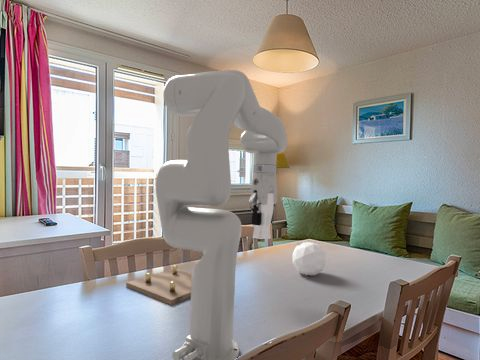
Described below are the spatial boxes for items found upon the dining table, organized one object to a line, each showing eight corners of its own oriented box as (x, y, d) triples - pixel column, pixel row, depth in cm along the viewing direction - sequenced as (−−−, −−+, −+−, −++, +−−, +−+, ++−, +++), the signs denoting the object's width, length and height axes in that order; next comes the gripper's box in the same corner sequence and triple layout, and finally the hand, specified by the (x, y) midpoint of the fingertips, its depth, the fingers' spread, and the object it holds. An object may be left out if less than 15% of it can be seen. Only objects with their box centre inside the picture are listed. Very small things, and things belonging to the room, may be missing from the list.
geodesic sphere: (284, 263, 120) (307, 236, 120) (281, 254, 134) (302, 230, 133) (313, 287, 120) (336, 260, 119) (307, 276, 134) (328, 251, 133)
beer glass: (254, 239, 100) (256, 192, 100) (248, 235, 107) (250, 191, 107) (275, 239, 102) (277, 193, 102) (268, 235, 109) (270, 192, 109)
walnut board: (170, 305, 92) (171, 289, 92) (126, 286, 105) (126, 273, 105) (218, 285, 110) (219, 272, 110) (175, 271, 123) (175, 260, 123)
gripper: (259, 169, 95) (257, 228, 95) (287, 171, 109) (284, 222, 109) (240, 168, 100) (237, 225, 100) (268, 171, 114) (266, 220, 114)
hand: (262, 223), depth 105 cm, fingers closed on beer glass, 6 cm apart
